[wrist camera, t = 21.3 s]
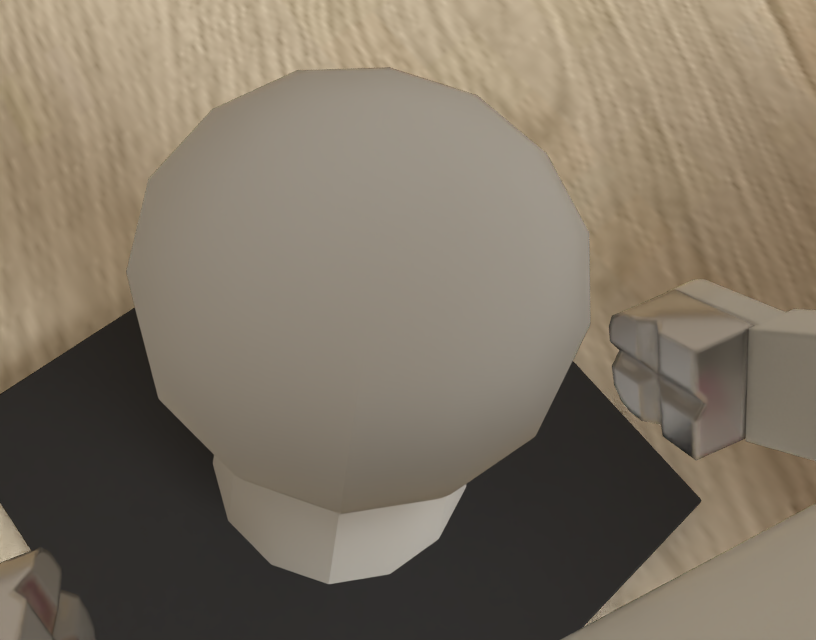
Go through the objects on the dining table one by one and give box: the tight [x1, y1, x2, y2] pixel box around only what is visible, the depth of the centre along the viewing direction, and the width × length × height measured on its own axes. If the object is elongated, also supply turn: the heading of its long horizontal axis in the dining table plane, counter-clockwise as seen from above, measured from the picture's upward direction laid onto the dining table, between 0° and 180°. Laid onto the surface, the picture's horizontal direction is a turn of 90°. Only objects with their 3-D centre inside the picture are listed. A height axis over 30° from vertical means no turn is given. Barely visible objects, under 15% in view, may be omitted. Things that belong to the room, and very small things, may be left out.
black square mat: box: [0, 308, 701, 640], centre depth 18 cm, size 14×14×1 cm
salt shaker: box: [126, 67, 590, 584], centre depth 11 cm, size 6×6×13 cm
